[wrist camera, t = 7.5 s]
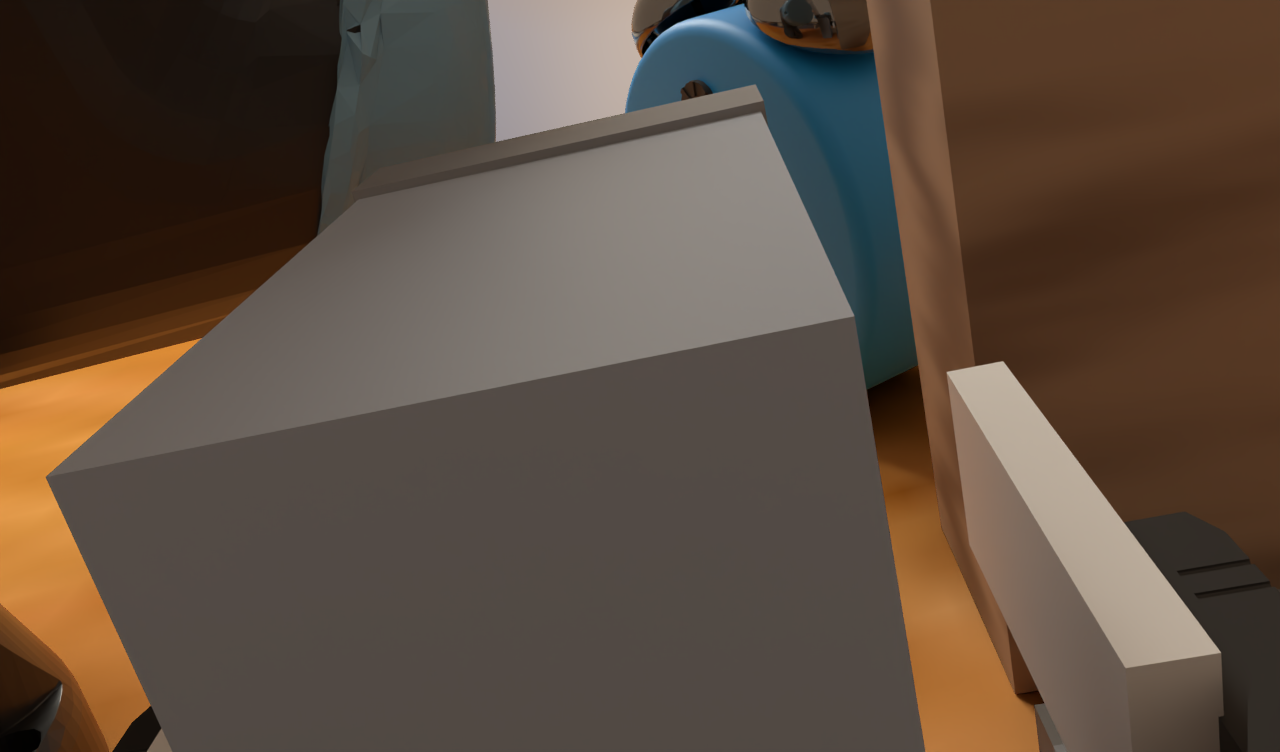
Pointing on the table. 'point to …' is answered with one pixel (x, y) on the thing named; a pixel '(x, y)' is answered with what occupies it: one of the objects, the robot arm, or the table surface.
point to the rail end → (519, 470)
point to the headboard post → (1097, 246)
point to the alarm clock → (801, 132)
